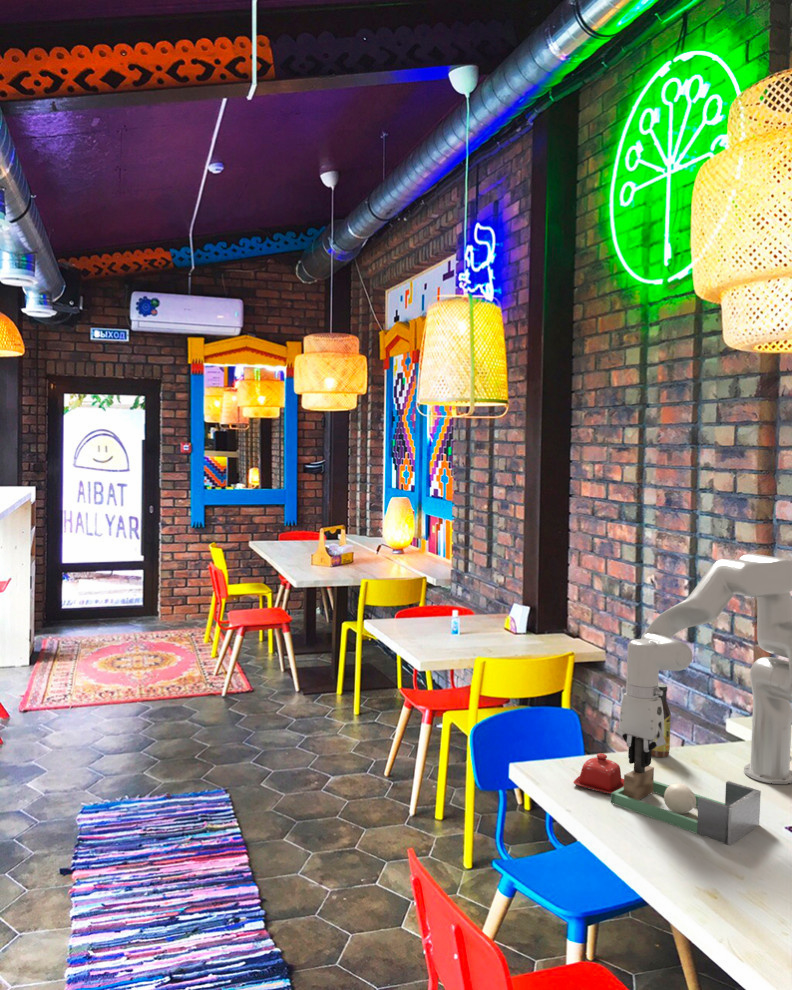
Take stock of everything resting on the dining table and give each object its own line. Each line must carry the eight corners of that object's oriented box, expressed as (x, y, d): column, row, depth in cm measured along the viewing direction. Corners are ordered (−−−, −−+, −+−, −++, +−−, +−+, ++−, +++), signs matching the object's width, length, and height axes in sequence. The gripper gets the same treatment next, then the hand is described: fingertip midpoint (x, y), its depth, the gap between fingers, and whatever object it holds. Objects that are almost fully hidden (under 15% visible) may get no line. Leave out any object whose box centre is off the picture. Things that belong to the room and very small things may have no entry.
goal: (726, 814, 197) (728, 781, 196) (759, 824, 191) (760, 790, 191) (697, 833, 186) (698, 798, 186) (730, 845, 181) (731, 809, 180)
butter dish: (630, 784, 214) (631, 752, 214) (614, 799, 205) (616, 765, 204) (587, 774, 221) (588, 742, 220) (570, 788, 211) (571, 755, 211)
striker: (643, 789, 209) (645, 733, 209) (653, 792, 208) (655, 736, 207) (622, 800, 202) (624, 742, 202) (632, 803, 201) (634, 745, 200)
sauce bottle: (670, 759, 232) (673, 689, 231) (647, 757, 233) (650, 687, 232) (668, 751, 238) (670, 683, 238) (645, 749, 240) (647, 681, 239)
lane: (642, 786, 212) (643, 777, 212) (726, 814, 197) (727, 804, 197) (610, 802, 202) (611, 792, 202) (697, 833, 186) (697, 823, 186)
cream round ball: (693, 821, 192) (694, 793, 192) (660, 814, 196) (661, 786, 196) (698, 810, 198) (699, 783, 198) (667, 804, 202) (667, 777, 202)
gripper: (680, 695, 201) (677, 769, 201) (620, 681, 212) (618, 751, 213) (665, 701, 195) (662, 777, 196) (604, 686, 207) (602, 758, 208)
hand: (639, 763), depth 205 cm, fingers closed on striker, 2 cm apart
